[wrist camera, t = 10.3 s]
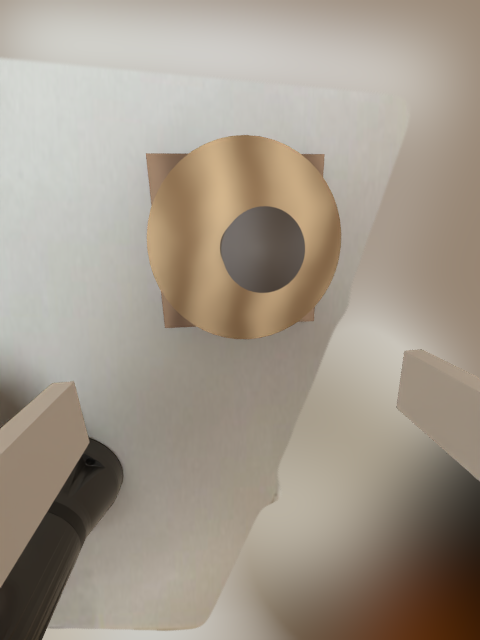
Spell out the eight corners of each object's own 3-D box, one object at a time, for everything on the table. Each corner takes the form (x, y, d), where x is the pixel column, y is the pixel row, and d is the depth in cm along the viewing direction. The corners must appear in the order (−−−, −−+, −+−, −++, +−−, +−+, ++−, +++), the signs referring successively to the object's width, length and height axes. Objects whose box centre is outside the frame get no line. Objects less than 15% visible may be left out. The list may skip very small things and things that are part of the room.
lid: (160, 339, 27) (129, 393, 17) (138, 139, 22) (76, 57, 12) (327, 331, 29) (385, 377, 19) (344, 141, 23) (435, 70, 14)
